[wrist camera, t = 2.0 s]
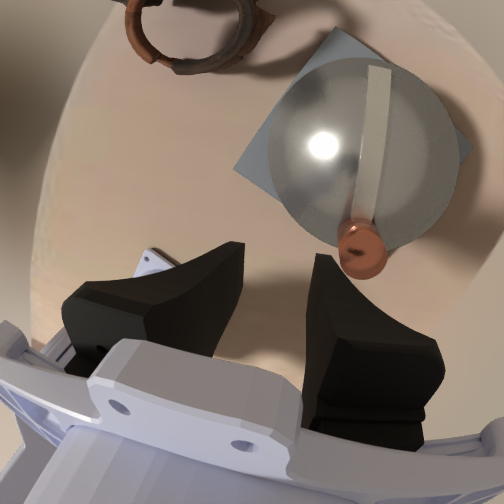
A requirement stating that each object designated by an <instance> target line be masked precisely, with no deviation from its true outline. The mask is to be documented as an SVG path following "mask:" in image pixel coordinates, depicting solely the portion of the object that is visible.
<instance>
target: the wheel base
mask: <svg viewBox="0 0 504 504" xmlns="http://www.w3.org/2000/svg"><path fill="white" fill-rule="evenodd" d="M346 58H372V59H379V60H383V59H382V58H381V57H379V56H378V55H377V54H375V53H374V52H373V51H371V50H370V49H369V48H367V47H366V46H364V45H363V44H362V43H360V42H359V41H357V40H356V39H354V38H353V37H351V36H350V35H348V34H347V33H345V32H344V31H342V30H340V29H339V28H337V27H336V26H335V28H334V29H333V30H332V31H331V33H330V34H329V35H328V36H327V38H326V39H325V40H324V41H323V43H322V44H321V45H320V46H319V48H318V49H317V50H316V52H315V53H314V54H313V55H312V57H311V58H310V59H309V61H308V62H307V63H306V65H305V66H304V67H303V69H302V70H301V71H300V73H299V74H298V75H297V77H296V78H295V79H294V81H293V82H292V83H291V85H290V86H289V88H288V89H287V90H286V92H285V93H284V95H283V96H282V97H281V99H280V100H279V102H278V103H277V104H276V106H275V107H274V109H273V110H272V111H271V113H270V114H269V116H268V117H267V119H266V120H265V122H264V123H263V124H262V126H261V127H260V129H259V130H258V132H257V133H256V135H255V136H254V138H253V139H252V141H251V142H250V144H249V145H248V147H247V148H246V150H245V151H244V153H243V154H242V156H241V157H240V159H239V160H238V162H237V163H236V165H235V166H234V168H233V170H235V171H236V172H238V173H239V174H241V175H242V176H244V177H245V178H247V179H248V180H250V181H251V182H252V183H254V184H255V185H257V186H258V187H260V188H261V189H263V190H264V191H265V192H267V193H268V194H270V195H271V196H273V197H274V198H275V199H277V200H278V201H280V202H281V200H280V198H279V196H278V194H277V192H276V189H275V187H274V185H273V182H272V178H271V174H270V170H269V163H268V138H269V131H270V127H271V123H272V120H273V117H274V115H275V112H276V110H277V108H278V106H279V104H280V102H281V101H282V99H283V97H284V96H285V94H286V93H287V92H288V91H289V90H290V88H291V87H292V86H293V85H294V84H295V83H296V82H297V81H298V80H299V79H301V78H302V77H303V76H304V75H306V74H307V73H309V72H310V71H312V70H313V69H315V68H317V67H319V66H321V65H324V64H326V63H329V62H332V61H336V60H339V59H346ZM383 61H385V60H383ZM453 126H454V128H455V132H456V136H457V140H458V147H459V166H460V165H461V163H462V162H463V161H464V159H465V158H466V156H467V155H468V154H469V152H470V151H471V149H472V148H473V146H472V145H471V143H470V142H469V141H468V140H467V139H466V138H465V136H464V135H463V134H462V133H461V132H460V131H459V129H458V128H457V127H456V126H455V125H454V124H453ZM281 203H282V202H281ZM282 204H283V203H282ZM388 251H389V250H388ZM388 251H387V252H388Z"/></svg>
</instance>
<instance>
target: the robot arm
mask: <svg viewBox="0 0 504 504" xmlns="http://www.w3.org/2000/svg"><path fill="white" fill-rule="evenodd" d="M244 252H245V243H240V242H233V241H230V242H227V243H225V244H223V245H221V246H219V247H217V248H215V249H213V250H211V251H209V252H207V253H205V254H204V255H202V256H199V257H197V258H195V259H193V260H191V261H188V262H186V263H184V264H181V265H179V266H175V265H173V264H172V263H171V262H169V261H168V260H166V259H165V258H164V257H162V256H161V255H159V254H158V253H157V252H155V251H154V250H153V249H151V248H148V249H146V250H145V251H144V253H143V255H142V258H141V260H140V262H139V264H138V267H137V269H136V271H135V274H134V276H133V278H128V279H120V280H111V281H86V282H85V283H84V284H83V285H81V286H80V287H79V288H78V289H77V290H76V291H75V292H74V293H73V294H72V295H71V296H69V297H68V298H67V299H66V300H65V301H64V302H63V305H62V308H61V310H62V320H63V323H64V327H63V328H62V329H61V330H60V331H59V332H58V333H57V334H56V335H55V336H54V337H53V338H52V339H51V340H50V341H49V342H48V343H47V344H46V346H45V347H44V348H43V349H42V350H41V351H40V352H38V351H37V350H35V349H33V348H32V347H30V346H29V344H28V342H27V339H26V337H25V335H24V334H23V332H22V331H21V330H20V329H19V328H17V327H16V326H14V325H13V324H11V323H10V322H8V321H6V320H4V321H3V322H2V323H1V324H0V400H1V401H2V402H3V403H4V404H5V405H6V406H7V407H8V408H9V409H11V410H12V411H13V414H14V417H15V420H16V423H17V426H18V429H19V432H20V435H21V437H22V440H23V443H22V445H21V446H20V447H19V449H18V450H17V451H16V453H15V454H14V455H13V457H12V458H11V459H10V461H9V462H8V463H7V465H6V466H5V467H4V469H3V470H2V472H1V473H0V504H483V503H485V502H487V501H489V500H491V499H493V498H494V497H496V496H498V495H499V494H501V493H502V492H504V417H501V418H497V419H495V420H493V421H491V422H490V423H489V424H488V425H487V426H486V427H485V428H484V429H483V430H482V431H481V433H479V434H473V435H467V436H462V437H454V438H446V439H438V440H428V441H424V436H423V430H422V424H421V422H423V421H424V420H425V411H424V406H425V405H426V404H427V403H428V401H429V400H430V399H431V397H432V396H433V395H434V393H435V392H436V391H437V389H438V388H439V386H440V385H441V383H442V381H443V379H444V375H445V365H444V361H443V359H442V355H441V353H440V350H439V348H438V345H437V342H436V340H434V339H432V338H430V337H428V336H425V335H423V334H421V333H419V332H416V331H414V330H412V329H410V328H408V327H407V326H405V325H403V324H401V323H399V322H398V321H396V320H395V319H393V318H391V317H390V316H389V315H387V314H386V313H384V312H383V311H382V310H380V309H379V308H378V307H376V306H375V305H374V304H373V303H372V302H370V301H369V300H368V299H367V298H366V297H365V296H364V295H363V294H362V293H361V292H360V291H359V290H358V289H357V288H356V287H355V286H354V285H353V284H352V283H351V281H350V280H349V279H348V278H347V277H346V275H345V274H344V273H343V271H342V270H341V269H340V267H339V266H338V264H337V263H336V262H335V260H334V259H333V257H332V256H331V255H325V254H318V253H316V256H315V262H314V268H313V273H312V279H311V284H310V290H309V295H308V303H307V312H306V367H305V375H304V382H303V389H302V395H301V391H299V390H298V389H297V388H296V387H295V386H294V385H292V384H291V383H290V382H289V381H288V380H287V379H285V378H284V377H283V376H281V375H279V374H276V373H273V372H270V371H267V370H264V369H261V368H258V367H254V366H249V365H244V364H239V363H234V362H229V361H224V360H219V359H215V358H212V357H213V354H214V351H215V349H216V346H217V344H218V342H219V340H220V338H221V336H222V334H223V332H224V330H225V328H226V326H227V324H228V322H229V320H230V318H231V316H232V314H233V312H234V310H235V307H236V305H237V303H238V300H239V297H240V294H241V290H242V287H243V274H244ZM146 257H148V258H149V260H148V259H147V258H146Z"/></svg>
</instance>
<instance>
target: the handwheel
mask: <svg viewBox="0 0 504 504" xmlns="http://www.w3.org/2000/svg"><path fill="white" fill-rule="evenodd" d="M268 163H269V170H270V174H271V178H272V182H273V185H274V187H275V189H276V192H277V194H278V196H279V198H280V200H281V202H282V203H283V205H284V207H285V208H286V209H287V211H288V212H289V214H290V215H291V216H292V217H293V218H294V219H295V220H296V222H297V223H298V224H299V225H300V226H301V227H303V228H304V229H305V230H306V231H307V232H309V233H310V234H311V235H313V236H315V237H316V238H318V239H319V240H321V241H323V242H325V243H327V244H329V245H331V246H334V247H337V248H338V250H339V257H340V264H341V267H342V269H343V271H344V272H345V273H346V274H347V275H348V276H350V277H352V278H354V279H358V280H366V279H370V278H373V277H375V276H376V275H378V274H379V273H380V272H381V271H382V270H383V269H384V267H385V265H386V262H387V257H388V256H387V251H388V250H392V249H395V248H398V247H401V246H403V245H406V244H408V243H410V242H412V241H413V240H415V239H417V238H418V237H420V236H421V235H423V234H424V233H425V232H426V231H428V230H429V229H430V228H431V227H432V226H433V225H434V224H435V223H436V222H437V221H438V219H439V218H440V217H441V215H442V214H443V213H444V211H445V209H446V208H447V206H448V204H449V202H450V200H451V198H452V195H453V193H454V190H455V187H456V183H457V179H458V173H459V147H458V140H457V136H456V132H455V128H454V126H453V123H452V121H451V118H450V116H449V114H448V112H447V110H446V109H445V107H444V105H443V104H442V102H441V101H440V99H439V98H438V97H437V95H436V94H435V93H434V92H433V91H432V90H431V89H430V88H429V87H428V86H427V84H425V83H424V82H423V81H422V80H420V79H419V78H418V77H417V76H415V75H414V74H412V73H411V72H409V71H407V70H406V69H404V68H402V67H399V66H397V65H395V64H393V63H389V62H386V61H383V60H379V59H372V58H346V59H339V60H336V61H332V62H329V63H326V64H324V65H321V66H319V67H317V68H315V69H313V70H312V71H310V72H309V73H307V74H306V75H304V76H303V77H302V78H301V79H299V80H298V81H297V82H296V83H295V84H294V85H293V86H292V87H291V88H290V90H289V91H288V92H287V93H286V94H285V96H284V97H283V99H282V101H281V102H280V104H279V106H278V108H277V110H276V112H275V115H274V117H273V120H272V123H271V127H270V131H269V138H268Z"/></svg>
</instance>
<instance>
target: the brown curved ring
mask: <svg viewBox="0 0 504 504" xmlns="http://www.w3.org/2000/svg"><path fill="white" fill-rule="evenodd" d="M113 1H116V2H120V3H123V4H124V5H125V6H126V7H127V8H126V11H125V28H126V34H127V37H128V40H129V42H130V44H131V45H132V48H133V49H134V50H135V52H136V53H137V54H138V55H139V56H140V57H141V58H142V59H143V60H145V61H146V62H147V63H149V64H152V63H154V62H156V61H157V62H160V63H161V64H163V65H165V66H167V67H169V68H171V69H172V70H173V71H174V73H175V74H177V75H194V74H200V73H207V72H213V71H217V70H221V69H224V68H227V67H229V66H231V65H233V64H235V63H237V62H239V61H241V60H242V59H243V55H245V54H248V53H250V52H251V51H252V50H253V49H254V48H255V46H256V45H257V43H258V41H259V40H260V38H261V36H262V35H263V34H264V32H265V31H266V30H267V28H268V27H269V26H270V25H271V24H272V22H273V21H274V19H275V16H274V15H271V14H269V13H268V12H266V11H264V10H262V9H260V8H259V7H257V6H256V2H257V1H259V0H235V2H236V4H237V7H238V10H239V12H240V14H239V25H238V28H237V32H236V34H235V36H234V37H233V39H232V40H231V41H230V43H229V44H228V45H227V46H226V47H225V48H223V49H222V50H221V51H220V52H218V53H216V54H214V55H212V56H209V57H207V58H203V59H199V60H182V59H177V58H169V57H167V56H165V55H163V54H162V53H161V52H159V51H158V50H157V49H156V48H155V47H153V46H152V45H151V43H150V42H149V41H148V39H147V38H146V36H145V34H144V32H143V29H142V24H141V14H142V8H143V7H151V6H160V5H161V4H162V2H163V0H113Z"/></svg>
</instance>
